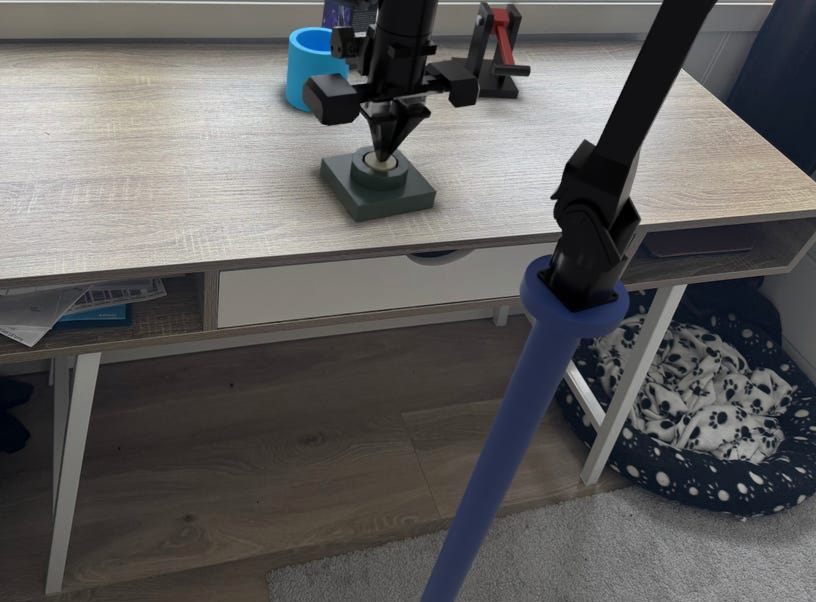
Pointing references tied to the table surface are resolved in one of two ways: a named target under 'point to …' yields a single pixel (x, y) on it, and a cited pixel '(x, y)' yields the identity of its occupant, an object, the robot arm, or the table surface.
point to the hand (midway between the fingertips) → (381, 160)
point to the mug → (310, 61)
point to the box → (348, 17)
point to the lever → (505, 47)
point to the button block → (376, 185)
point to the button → (376, 165)
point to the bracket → (483, 67)
